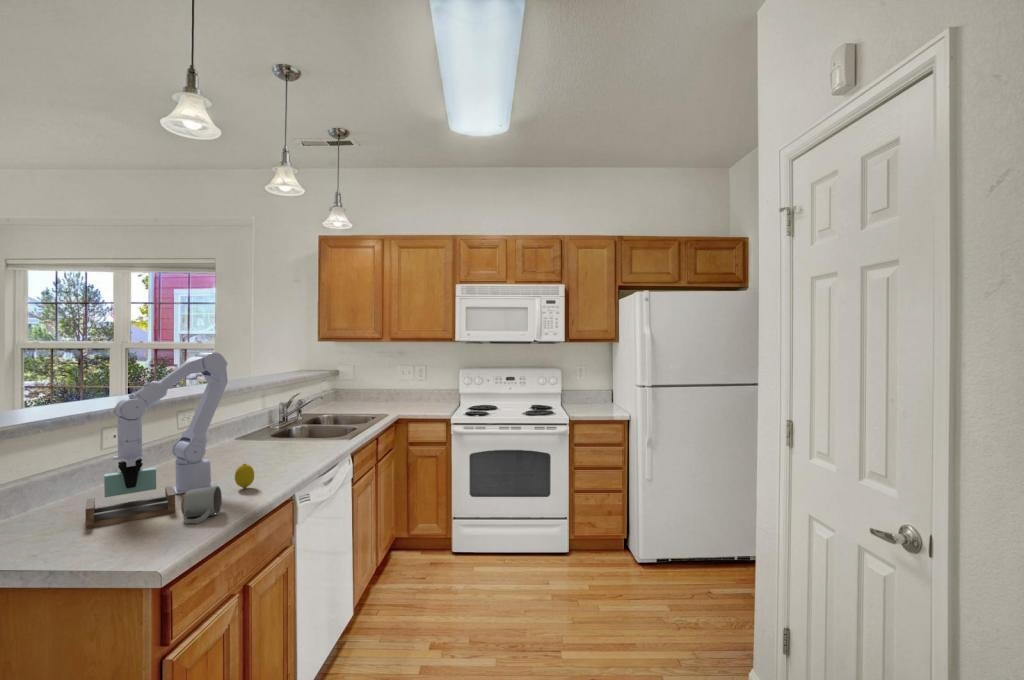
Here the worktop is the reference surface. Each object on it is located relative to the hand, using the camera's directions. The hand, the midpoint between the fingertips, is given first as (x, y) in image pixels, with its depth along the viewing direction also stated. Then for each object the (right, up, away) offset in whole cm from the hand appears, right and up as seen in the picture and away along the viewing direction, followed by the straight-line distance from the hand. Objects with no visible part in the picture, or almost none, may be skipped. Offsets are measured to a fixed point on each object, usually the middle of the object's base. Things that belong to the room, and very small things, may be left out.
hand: (130, 486), depth 148 cm
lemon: (+26, -5, +13) cm, 30 cm away
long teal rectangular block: (0, -2, 0) cm, 2 cm away
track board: (+8, -5, -10) cm, 14 cm away
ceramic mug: (+28, -5, -12) cm, 31 cm away
